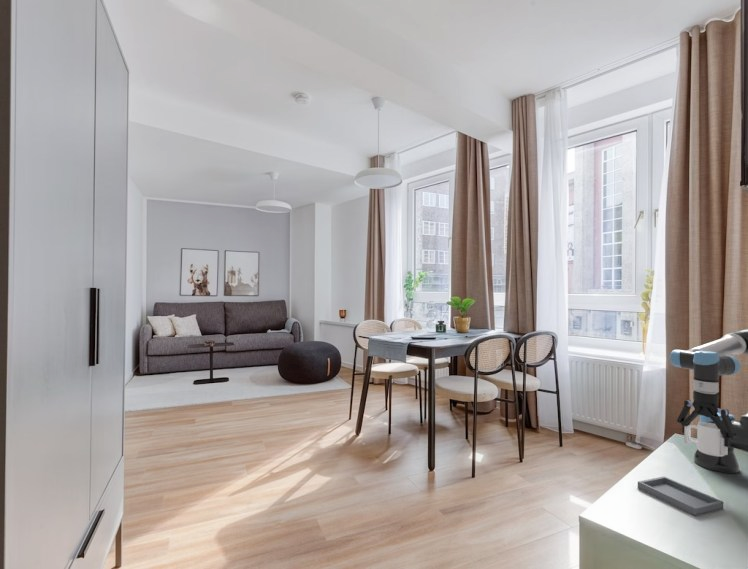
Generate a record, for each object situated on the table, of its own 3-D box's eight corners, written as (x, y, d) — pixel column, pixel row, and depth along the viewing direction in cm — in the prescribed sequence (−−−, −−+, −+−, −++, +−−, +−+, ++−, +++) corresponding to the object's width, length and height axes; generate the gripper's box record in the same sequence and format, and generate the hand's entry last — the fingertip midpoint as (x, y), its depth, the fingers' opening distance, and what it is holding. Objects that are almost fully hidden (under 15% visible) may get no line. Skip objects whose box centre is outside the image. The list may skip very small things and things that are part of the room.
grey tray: (664, 482, 157) (664, 476, 158) (723, 509, 139) (723, 501, 139) (637, 488, 152) (637, 481, 152) (695, 516, 133) (695, 508, 133)
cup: (722, 458, 145) (722, 430, 146) (682, 447, 155) (682, 421, 155) (728, 453, 150) (728, 426, 150) (689, 443, 160) (689, 418, 160)
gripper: (666, 385, 163) (666, 438, 162) (737, 400, 140) (736, 462, 140) (678, 384, 166) (678, 436, 165) (750, 399, 143) (749, 459, 143)
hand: (705, 448), depth 153 cm, fingers closed on cup, 12 cm apart
